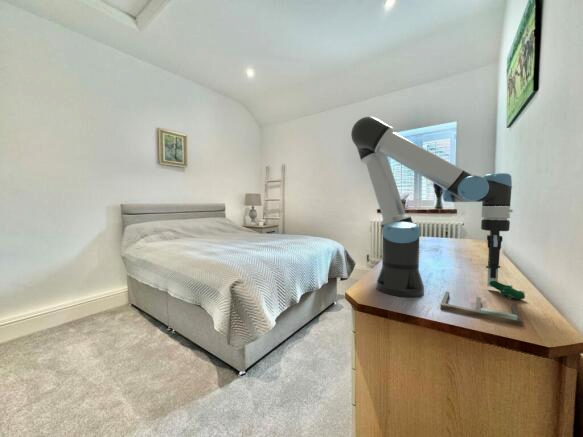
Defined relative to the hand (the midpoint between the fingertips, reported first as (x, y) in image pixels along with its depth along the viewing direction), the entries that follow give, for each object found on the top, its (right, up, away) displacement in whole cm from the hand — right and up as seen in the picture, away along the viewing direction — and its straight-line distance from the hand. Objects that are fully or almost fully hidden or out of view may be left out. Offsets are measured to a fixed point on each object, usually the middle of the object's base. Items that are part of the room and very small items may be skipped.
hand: (492, 286), depth 85 cm
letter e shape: (-17, -2, -15) cm, 23 cm away
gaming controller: (-3, 0, -5) cm, 6 cm away
